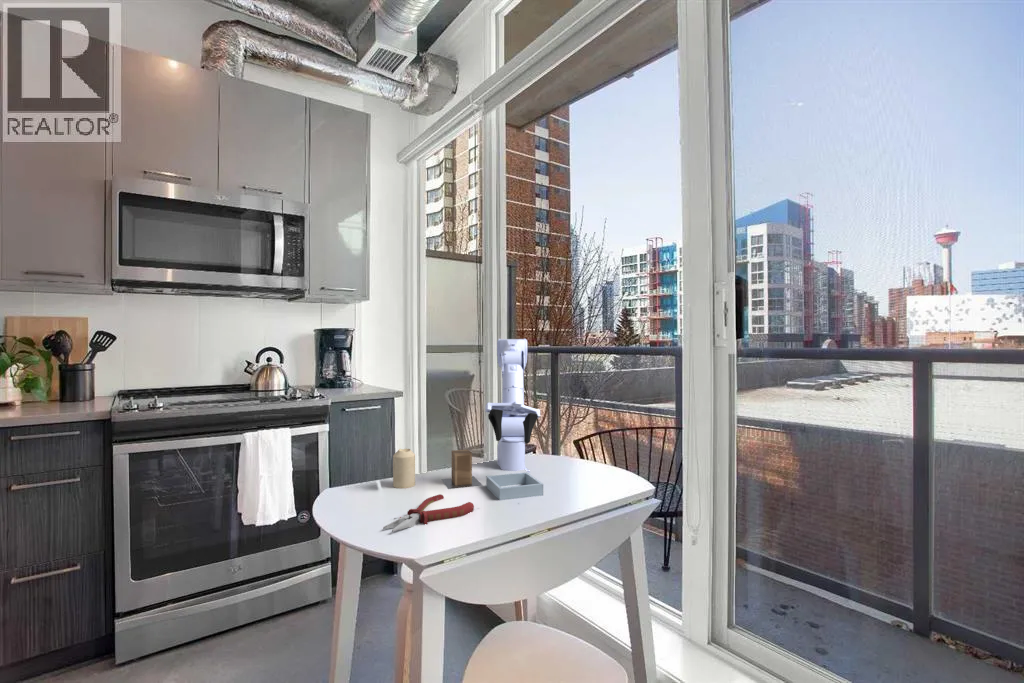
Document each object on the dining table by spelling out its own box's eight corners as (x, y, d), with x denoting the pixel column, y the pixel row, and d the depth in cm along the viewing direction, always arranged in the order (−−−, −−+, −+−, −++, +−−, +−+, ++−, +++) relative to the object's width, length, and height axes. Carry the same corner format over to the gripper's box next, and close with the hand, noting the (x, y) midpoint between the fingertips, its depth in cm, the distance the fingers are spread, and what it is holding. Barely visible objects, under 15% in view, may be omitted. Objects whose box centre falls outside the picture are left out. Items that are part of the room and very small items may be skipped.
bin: (486, 489, 126) (486, 476, 126) (526, 485, 129) (526, 472, 129) (499, 503, 115) (499, 488, 115) (543, 498, 119) (543, 484, 119)
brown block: (451, 480, 131) (451, 450, 131) (467, 479, 132) (467, 449, 132) (455, 485, 127) (455, 454, 127) (471, 483, 128) (471, 452, 128)
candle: (402, 492, 123) (402, 452, 123) (388, 488, 127) (388, 449, 127) (419, 487, 128) (419, 448, 128) (405, 483, 131) (405, 446, 131)
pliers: (369, 529, 101) (369, 516, 101) (439, 502, 117) (439, 491, 117) (407, 543, 94) (407, 529, 94) (476, 513, 111) (476, 501, 111)
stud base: (441, 482, 132) (441, 469, 132) (473, 479, 135) (473, 467, 135) (448, 492, 124) (448, 478, 124) (482, 488, 127) (482, 475, 127)
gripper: (491, 382, 126) (490, 433, 120) (543, 389, 131) (545, 439, 124) (483, 392, 132) (482, 441, 125) (534, 399, 136) (535, 447, 130)
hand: (513, 441), depth 125 cm, fingers open, 7 cm apart
